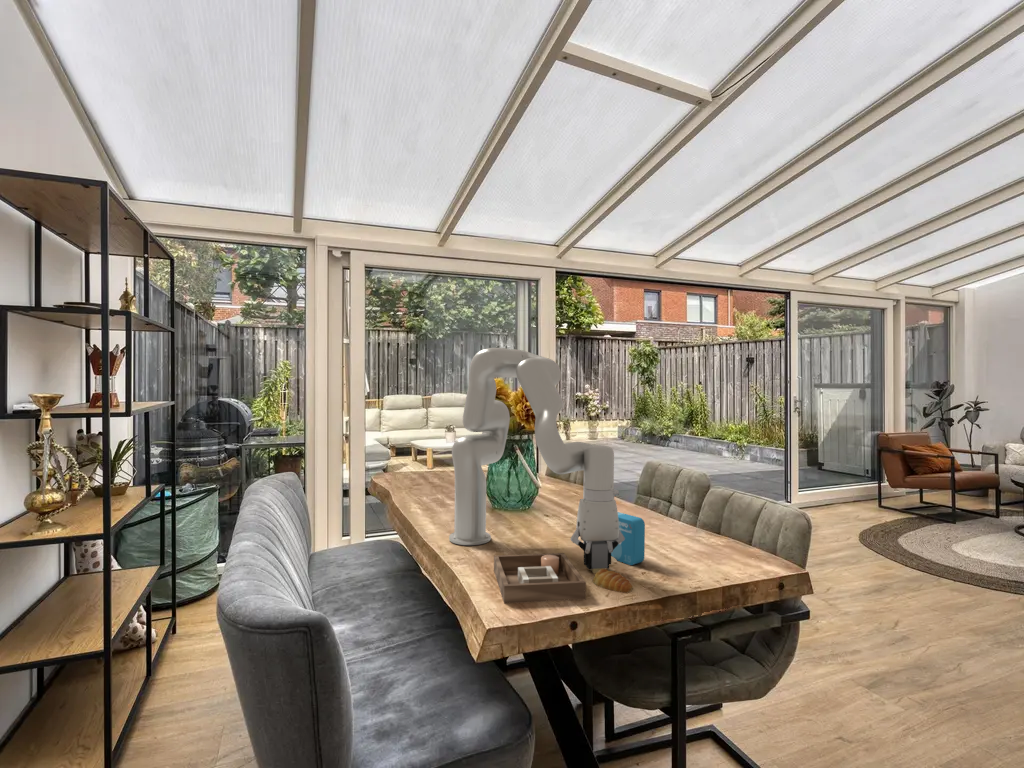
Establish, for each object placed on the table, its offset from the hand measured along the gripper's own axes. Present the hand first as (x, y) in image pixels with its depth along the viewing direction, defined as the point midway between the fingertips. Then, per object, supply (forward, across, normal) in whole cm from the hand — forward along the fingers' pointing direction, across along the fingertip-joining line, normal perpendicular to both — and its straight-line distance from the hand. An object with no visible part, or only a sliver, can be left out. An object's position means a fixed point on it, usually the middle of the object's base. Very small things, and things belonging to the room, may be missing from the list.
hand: (597, 566), depth 136 cm
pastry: (+2, -1, +9) cm, 10 cm away
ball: (+1, +12, +1) cm, 13 cm away
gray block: (+2, 0, 0) cm, 2 cm away
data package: (+2, -10, -10) cm, 14 cm away
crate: (+2, +17, +7) cm, 18 cm away
